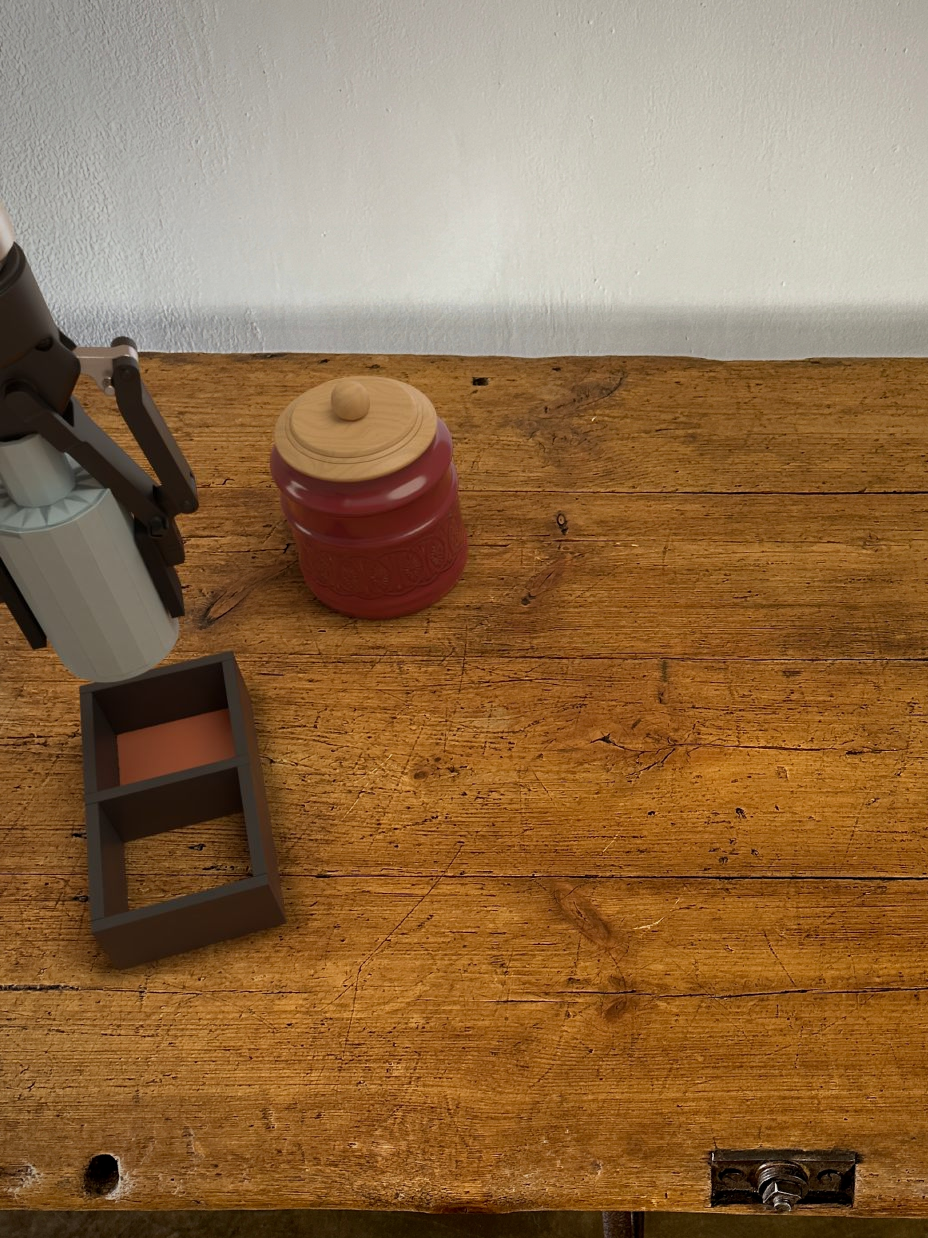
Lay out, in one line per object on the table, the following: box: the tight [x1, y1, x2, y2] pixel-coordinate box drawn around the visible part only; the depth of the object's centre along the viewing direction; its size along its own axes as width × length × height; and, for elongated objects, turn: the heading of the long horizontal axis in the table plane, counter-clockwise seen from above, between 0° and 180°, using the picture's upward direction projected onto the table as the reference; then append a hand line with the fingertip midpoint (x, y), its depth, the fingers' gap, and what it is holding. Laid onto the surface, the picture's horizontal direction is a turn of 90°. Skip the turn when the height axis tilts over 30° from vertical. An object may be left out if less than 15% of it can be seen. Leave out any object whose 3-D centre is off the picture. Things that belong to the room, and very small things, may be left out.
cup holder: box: [78, 650, 288, 972], centre depth 78 cm, size 19×10×6 cm, turn 19°
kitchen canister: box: [269, 375, 470, 621], centre depth 89 cm, size 13×13×18 cm
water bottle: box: [0, 433, 180, 683], centre depth 66 cm, size 7×7×16 cm
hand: (108, 615), depth 71 cm, fingers closed on water bottle, 7 cm apart
